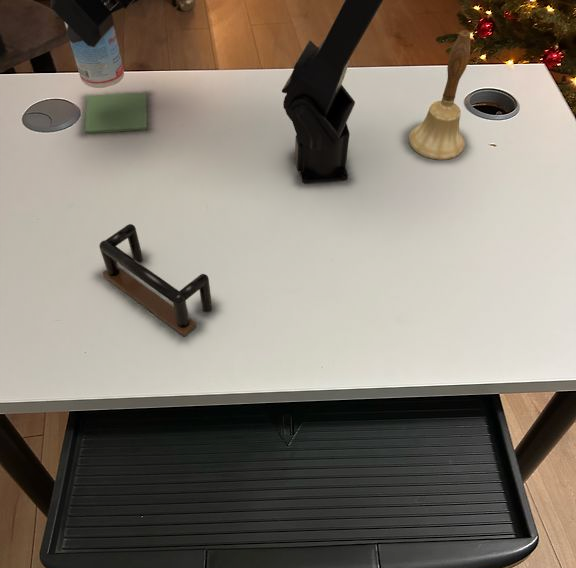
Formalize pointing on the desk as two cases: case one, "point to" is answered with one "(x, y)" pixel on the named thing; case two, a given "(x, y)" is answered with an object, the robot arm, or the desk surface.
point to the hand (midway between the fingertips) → (81, 27)
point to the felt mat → (116, 113)
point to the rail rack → (151, 282)
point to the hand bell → (444, 111)
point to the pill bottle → (99, 61)
